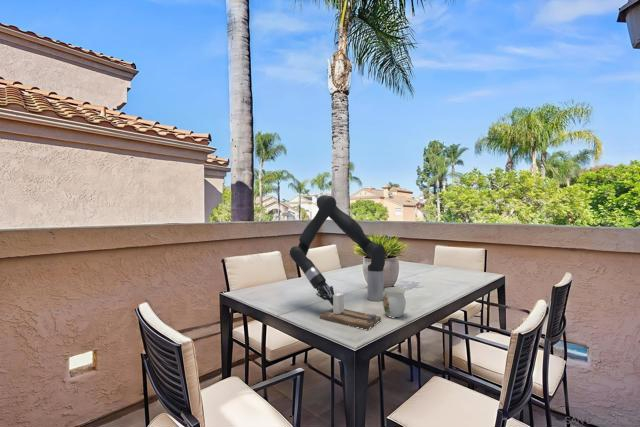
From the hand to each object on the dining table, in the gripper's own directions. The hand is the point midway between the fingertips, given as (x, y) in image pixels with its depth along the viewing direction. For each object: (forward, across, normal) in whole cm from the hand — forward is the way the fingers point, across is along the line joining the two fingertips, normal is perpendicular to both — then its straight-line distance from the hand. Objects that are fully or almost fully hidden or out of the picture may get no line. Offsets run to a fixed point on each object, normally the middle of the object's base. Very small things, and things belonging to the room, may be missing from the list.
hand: (335, 304), depth 156 cm
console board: (+10, 0, -2) cm, 10 cm away
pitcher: (+21, +18, -12) cm, 30 cm away
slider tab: (+4, 0, +1) cm, 4 cm away
